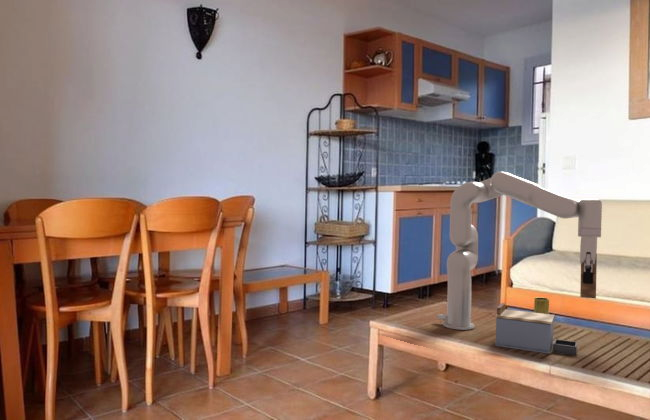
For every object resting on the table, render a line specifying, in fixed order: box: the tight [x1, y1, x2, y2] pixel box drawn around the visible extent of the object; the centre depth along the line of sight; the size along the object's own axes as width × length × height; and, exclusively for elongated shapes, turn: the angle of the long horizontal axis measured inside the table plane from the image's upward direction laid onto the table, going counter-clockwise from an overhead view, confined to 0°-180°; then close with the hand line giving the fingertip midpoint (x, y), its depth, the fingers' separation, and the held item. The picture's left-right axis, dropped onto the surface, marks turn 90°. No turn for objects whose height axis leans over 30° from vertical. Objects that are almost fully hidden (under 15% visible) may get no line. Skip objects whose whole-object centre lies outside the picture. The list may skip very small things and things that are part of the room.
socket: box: [552, 338, 578, 357], centre depth 181 cm, size 7×7×3 cm
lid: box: [494, 302, 556, 324], centre depth 188 cm, size 19×13×3 cm
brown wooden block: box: [579, 253, 598, 299], centre depth 189 cm, size 5×5×16 cm
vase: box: [533, 296, 550, 314], centre depth 204 cm, size 6×6×14 cm
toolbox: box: [495, 317, 555, 355], centre depth 188 cm, size 18×12×10 cm, turn 62°
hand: (588, 281), depth 189 cm, fingers closed on brown wooden block, 5 cm apart
